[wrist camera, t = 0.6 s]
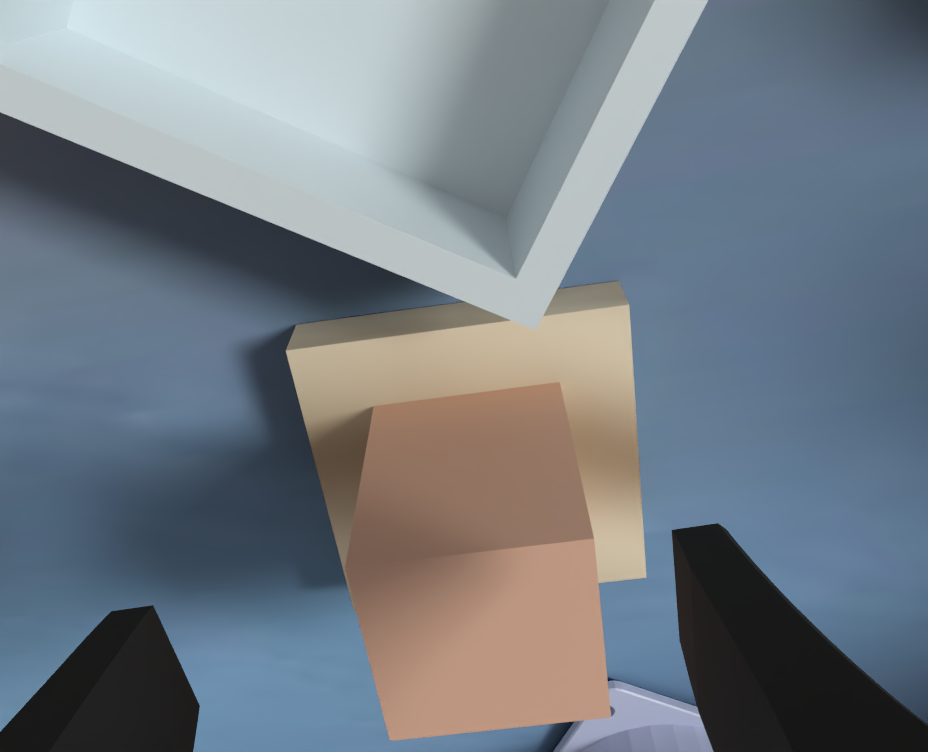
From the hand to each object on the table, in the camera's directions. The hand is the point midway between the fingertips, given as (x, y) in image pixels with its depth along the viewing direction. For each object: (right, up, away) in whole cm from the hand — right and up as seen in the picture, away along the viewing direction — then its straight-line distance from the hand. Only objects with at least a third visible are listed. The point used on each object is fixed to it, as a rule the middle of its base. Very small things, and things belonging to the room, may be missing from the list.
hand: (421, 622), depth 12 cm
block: (+1, +1, +10) cm, 10 cm away
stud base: (+1, +2, +11) cm, 11 cm away
